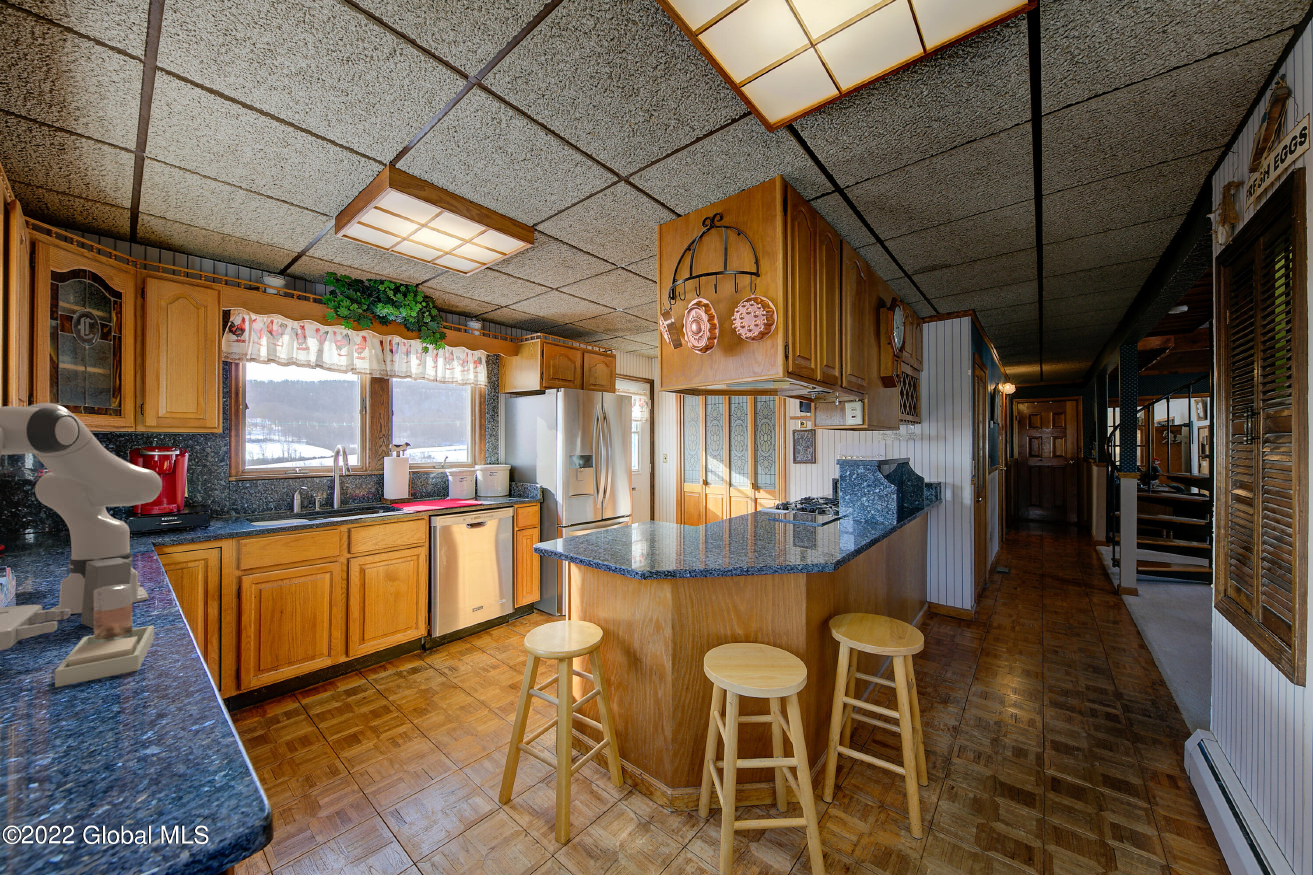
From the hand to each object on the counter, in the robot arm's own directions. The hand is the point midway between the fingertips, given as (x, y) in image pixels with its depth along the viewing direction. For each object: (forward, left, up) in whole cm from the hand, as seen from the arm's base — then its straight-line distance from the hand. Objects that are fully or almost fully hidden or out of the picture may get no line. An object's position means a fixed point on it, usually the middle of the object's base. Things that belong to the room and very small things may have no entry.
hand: (63, 619), depth 103 cm
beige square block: (+9, +7, -9) cm, 15 cm away
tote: (+4, +7, -10) cm, 13 cm away
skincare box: (-33, +1, -10) cm, 34 cm away
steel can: (0, +7, -9) cm, 11 cm away
